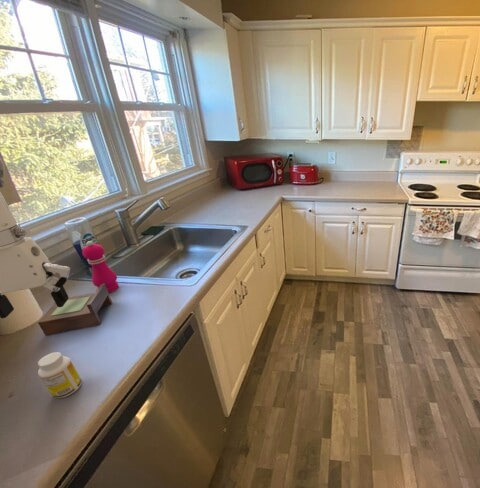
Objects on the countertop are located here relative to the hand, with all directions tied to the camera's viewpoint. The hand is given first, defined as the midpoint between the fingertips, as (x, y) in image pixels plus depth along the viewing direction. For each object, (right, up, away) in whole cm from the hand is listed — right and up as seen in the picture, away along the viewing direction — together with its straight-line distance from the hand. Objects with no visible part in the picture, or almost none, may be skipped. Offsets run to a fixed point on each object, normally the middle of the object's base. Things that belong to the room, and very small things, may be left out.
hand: (36, 308), depth 61 cm
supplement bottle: (+1, -21, +6) cm, 22 cm away
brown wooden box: (-16, -10, +30) cm, 35 cm away
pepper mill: (-18, -3, +44) cm, 48 cm away
